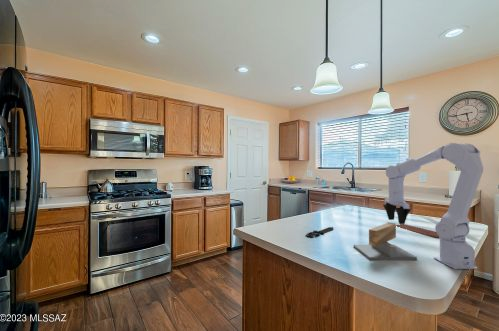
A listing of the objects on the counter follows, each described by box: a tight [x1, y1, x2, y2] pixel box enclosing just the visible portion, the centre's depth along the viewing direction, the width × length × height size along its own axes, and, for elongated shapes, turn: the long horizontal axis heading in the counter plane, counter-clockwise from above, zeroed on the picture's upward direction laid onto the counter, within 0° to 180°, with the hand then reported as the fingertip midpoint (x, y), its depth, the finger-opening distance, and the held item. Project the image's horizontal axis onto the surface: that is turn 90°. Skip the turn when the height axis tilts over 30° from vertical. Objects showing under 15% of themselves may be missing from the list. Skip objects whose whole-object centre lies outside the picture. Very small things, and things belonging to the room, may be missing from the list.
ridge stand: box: [353, 241, 418, 261], centre depth 95 cm, size 14×18×5 cm
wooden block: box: [368, 222, 397, 247], centre depth 95 cm, size 3×18×6 cm, turn 127°
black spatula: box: [305, 226, 334, 239], centre depth 125 cm, size 25×6×1 cm, turn 127°
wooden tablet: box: [396, 224, 440, 239], centre depth 126 cm, size 27×10×2 cm, turn 15°
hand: (396, 221), depth 105 cm, fingers open, 7 cm apart
